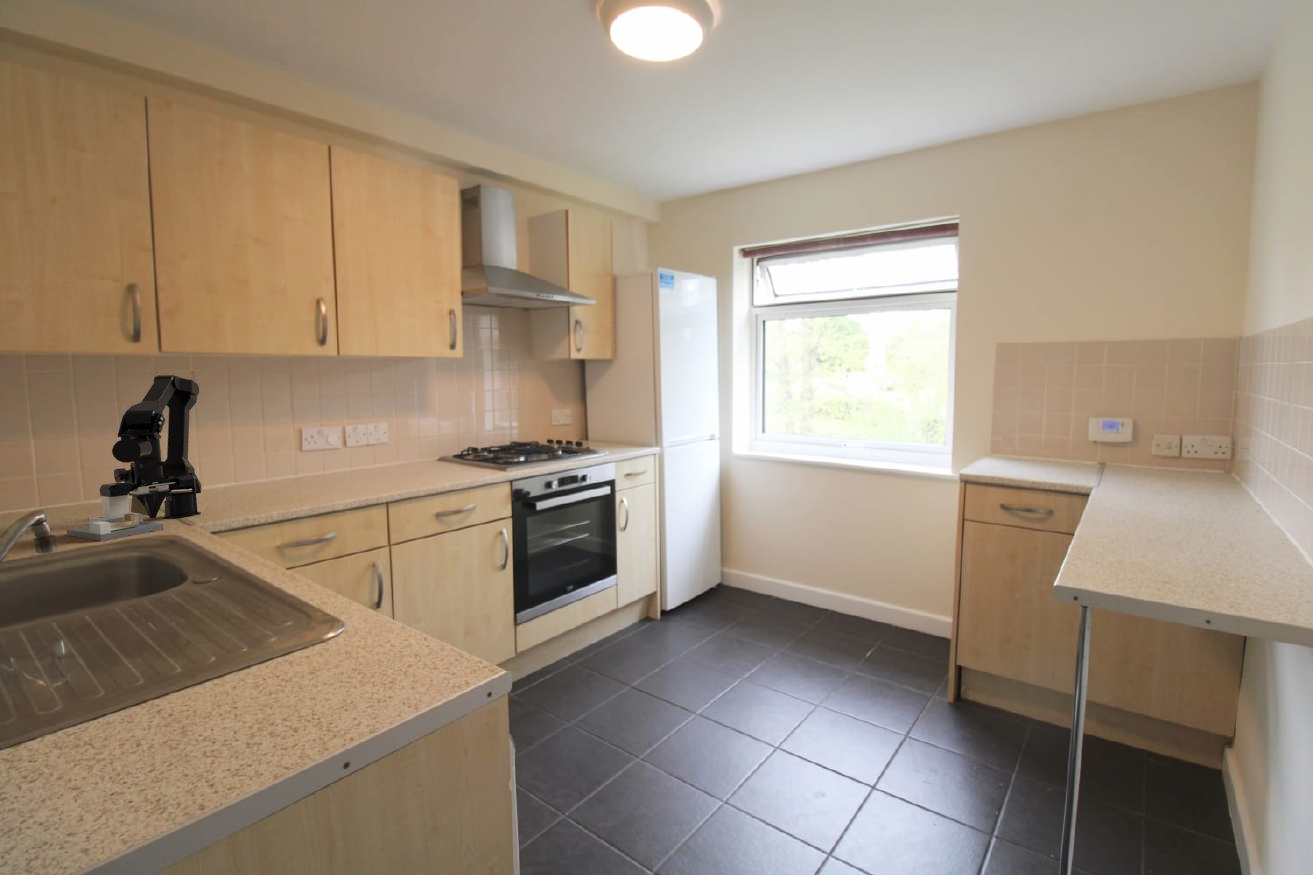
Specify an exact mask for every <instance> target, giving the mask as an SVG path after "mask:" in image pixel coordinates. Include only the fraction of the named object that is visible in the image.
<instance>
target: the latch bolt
mask: <svg viewBox="0 0 1313 875" xmlns="http://www.w3.org/2000/svg"><path fill="white" fill-rule="evenodd" d="M124 518H125V520H123V521H117V522H111V523H110V528H111V531H112V530H118V529H124V528H129V527H135V526H139V519H138V514H134V513H131V512H130V514H124Z"/></svg>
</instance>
